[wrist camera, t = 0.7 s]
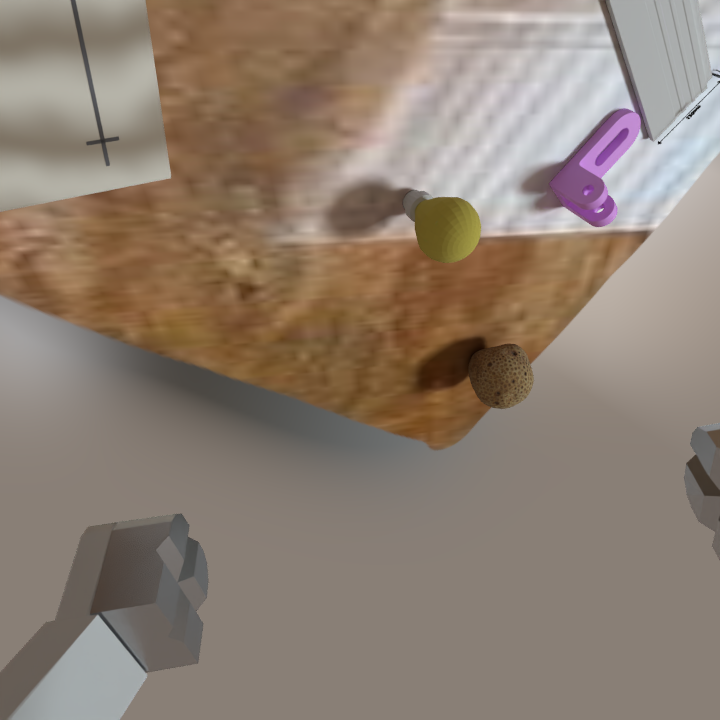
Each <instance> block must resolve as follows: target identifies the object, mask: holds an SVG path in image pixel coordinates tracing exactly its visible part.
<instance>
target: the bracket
mask: <svg viewBox="0 0 720 720" xmlns="http://www.w3.org/2000/svg"><path fill="white" fill-rule="evenodd" d="M640 125H641V120H640V117H639V115H638V114H637V113H635V112H633V111H631V110H629V109H620V110H618V111H616V112H615V113H614V114H612V115H611V116H610V117H609V118H608V119H607V121H606V122H605V123H604V124H603V125H602V126H601V127H600V128H599V129H598V130H597V131H596V133H595V134H594V135H593V136H592V137H591V138H590V139H589V140H588V141H587V142H586V143H585V145H584V146H583V147H582V148H581V149H580V150H579V151H578V152H577V153H576V154H575V155H574V157H573V158H572V159H571V160H570V161H569V162H568V163H567V164H566V165H565V166H564V168H563V169H562V170H561V171H560V172H559V173H558V174H557V175H556V176H555V177H554V178H553V180H552V181H551V182H550V183H549V185H550V187H551V188H552V190H553V191H554V193H555V194H556V196H557V197H558V199H559V200H560V202H561V203H562V205H563V206H564V207H565V208H567V209H568V210H570V211H571V212H573V213H574V214H576V215H577V216H579V217H580V218H582V219H583V220H585V221H586V222H588V223H589V224H591V225H592V226H595V227H602V226H605V225H608V224H609V223H611V222H612V221H613V220H614V219H615V217H616V215H617V206H616V204H615V202H614V200H613V199H612V198H611V197H610V196H609V195H608V190H607V187H606V186H605V184H604V182H603V180H602V179H601V178H602V177H603V175H604V174H605V173H606V172H607V171H608V170H609V169H610V168H611V167H612V166H613V165H614V164H615V163H616V162H617V160H618V159H619V158H620V157H621V156H622V155H623V154H624V153H625V152H626V151H627V150H628V149H629V148H630V146H631V145H632V144H633V142H634V141H635V139H636V137H637V135H638V133H639V130H640ZM619 132H620V133H619ZM618 134H619V135H618ZM617 135H618V136H617ZM616 136H617V137H616ZM615 137H616V138H615ZM614 138H615V139H614ZM613 139H614V140H613ZM612 140H613V141H612ZM611 141H612V142H611ZM610 142H611V143H610ZM609 143H610V144H609ZM608 144H609V145H608ZM607 145H608V147H607V148H606V146H607ZM605 148H606V149H605ZM604 149H605V150H604ZM603 150H604V151H603ZM602 151H603V152H602ZM601 152H602V153H601ZM600 153H601V154H600ZM599 154H600V155H599ZM598 155H599V156H598ZM597 156H598V157H597ZM602 208H604V209H603V211H602V212H600V213H597V211H598V210H599V209H602Z"/></svg>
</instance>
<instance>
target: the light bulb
mask: <svg viewBox="0 0 720 720" xmlns="http://www.w3.org/2000/svg"><path fill="white" fill-rule="evenodd" d="M403 207H404V208H405V212H406V215H407V216H408V217H409V218H410V219H411V220H412V221H414V222H415V232H416V236H417V241H418V244H419V247H420V249H421V250H422V251H423V252H424V253H425V254H426V255H427V256H428V257H429V258H431V259H433V260H436V261H439V262H443V263H450V262H456V261H459V260H461V259H463V258H465V257H466V256H468V255H469V254H470V253H471V252H472V251H473V250H474V248H475V247H476V245H477V244H478V241H479V238H480V233H481V223H480V219H479V216H478V213H477V212H476V210H475V209H474V208H473V207H472V206H471V204H469V203H468V202H467V201H465V200H463V199H461V198H458V197H437V198H433V197H432V196H431V195H430V194H428V193H427V192H425V191H417V190H412V191H410V192H409V193H407V195H406V196H405V197H404V199H403Z"/></svg>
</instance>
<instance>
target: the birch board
mask: <svg viewBox="0 0 720 720" xmlns="http://www.w3.org/2000/svg"><path fill="white" fill-rule="evenodd" d="M168 178H171V173H170V166H169V159H168V152H167V145H166V139H165V132H164V125H163V118H162V111H161V105H160V98H159V91H158V84H157V77H156V70H155V64H154V57H153V50H152V43H151V36H150V30H149V23H148V16H147V9H146V2H145V0H0V212H2V211H7V210H12V209H17V208H22V207H27V206H32V205H37V204H42V203H47V202H52V201H57V200H62V199H67V198H72V197H77V196H82V195H87V194H93V193H98V192H103V191H108V190H113V189H118V188H123V187H128V186H133V185H138V184H143V183H148V182H153V181H158V180H163V179H168Z"/></svg>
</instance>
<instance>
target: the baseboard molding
mask: <svg viewBox="0 0 720 720" xmlns="http://www.w3.org/2000/svg"><path fill="white" fill-rule="evenodd" d="M605 1H606V4H607V7H608V11H609V14H610V17H611V20H612V23H613V26H614V29H615V32H616V36H617V39H618V42H619V45H620V48H621V51H622V54H623V57H624V61H625V64H626V67H627V70H628V73H629V76H630V79H631V82H632V86H633V89H634V92H635V95H636V98H637V101H638V104H639V107H640V111H641V114H642V117H643V120H644V123H645V126H646V129H647V132H648V135H649V138H650V140H652V141H655V140H656V139H657V138H658V137H659V136H660V135H661V134H662V133H663V132H664V131H665V130H666V129H667V128H668V127H669V126H670V125H671V124H672V123H673V122H674V121H675V120H676V118H677V117H678V116H679V115H680V114H681V113H683V112H684V111H685V110H686V108H687V107H688V106H689V105H690V104H691V103H692V102H694V101H695V99H696V98H697V97H698V96H699V95H700V94H701V93H703V92H704V91H705V90H706V89H707V83H708V81H709V80H710V79H711V78H712V72H711V67H710V62H709V56H708V51H707V45H706V40H705V35H704V29H703V24H702V18H701V13H700V7H699V2H698V0H605ZM716 71H718V70H716ZM719 72H720V71H719ZM714 74H715V73H714ZM714 74H713V76H716V77H718V78H720V75H719V76H718V74H715V75H714ZM718 82H719V83H720V81H718ZM719 83H718V84H719ZM718 84H717V85H718ZM717 85H716V86H717ZM716 86H715V87H716ZM715 87H714V88H715ZM714 88H713V89H714ZM713 89H712V90H713ZM712 90H711V91H712ZM711 91H710V92H711ZM710 92H709V93H710ZM709 93H708V94H709ZM708 94H707V95H708ZM707 95H706V96H707ZM706 96H705V97H706ZM705 97H704V98H705ZM704 98H703V99H704ZM703 99H702V100H703ZM702 100H701V101H702ZM701 101H700V102H701ZM700 102H699V103H700ZM699 103H698V104H699ZM698 104H697V105H698ZM697 105H696V106H697ZM696 106H695V107H696ZM698 106H699V105H698ZM698 106H697V107H696V109H695V110H694V111H693V112H691V111H692V110H693V109H694V108H695V107H694V108H693V109H692V110H691V111H690V112H691V114H689V113H690V112H689V113H688V114H689V115H688V114H687V115H688V116H690V117H692V115H694V113H695V112H696V111H697V109H699V108H700V106H699V107H698ZM692 113H693V114H692ZM687 115H686V116H687ZM686 116H685V117H686ZM688 116H687V117H686V119H687V118H688V119H690V118H689V117H688ZM685 117H684V118H685ZM684 118H683V119H684ZM683 119H682V120H683ZM682 120H681V121H682ZM681 121H680V122H681ZM680 122H679V123H680ZM679 123H678V124H679ZM678 124H677V125H678ZM677 125H676V126H677ZM676 126H675V127H676ZM675 127H674V128H675ZM674 128H673V129H674ZM673 129H672V130H673ZM672 130H671V131H672ZM671 131H670V132H671ZM670 132H669V133H670ZM669 133H668V134H669ZM668 134H667V135H668ZM667 135H666V136H667ZM666 136H665V137H666ZM665 137H664V138H665ZM664 138H663V139H664ZM663 139H662V140H663ZM662 140H661V141H662ZM661 141H660V142H659V141H658V144H661Z"/></svg>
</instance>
